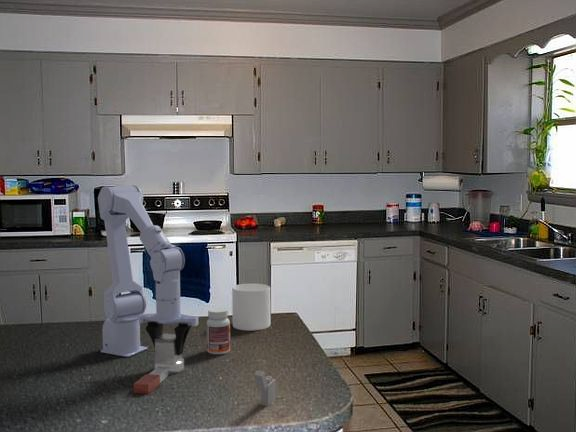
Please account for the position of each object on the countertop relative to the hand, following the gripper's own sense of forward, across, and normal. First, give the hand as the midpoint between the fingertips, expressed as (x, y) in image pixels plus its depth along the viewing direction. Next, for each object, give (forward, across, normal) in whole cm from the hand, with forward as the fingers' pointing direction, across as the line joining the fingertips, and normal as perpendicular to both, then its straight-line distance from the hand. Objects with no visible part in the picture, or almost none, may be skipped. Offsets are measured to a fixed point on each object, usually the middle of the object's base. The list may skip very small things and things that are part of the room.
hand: (169, 353), depth 143 cm
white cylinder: (+4, +9, +42) cm, 43 cm away
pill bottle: (+4, +7, +16) cm, 18 cm away
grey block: (+2, 0, 0) cm, 2 cm away
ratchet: (+4, 0, -6) cm, 7 cm away
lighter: (+4, +28, -16) cm, 32 cm away
